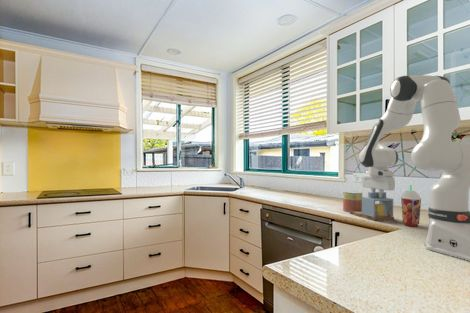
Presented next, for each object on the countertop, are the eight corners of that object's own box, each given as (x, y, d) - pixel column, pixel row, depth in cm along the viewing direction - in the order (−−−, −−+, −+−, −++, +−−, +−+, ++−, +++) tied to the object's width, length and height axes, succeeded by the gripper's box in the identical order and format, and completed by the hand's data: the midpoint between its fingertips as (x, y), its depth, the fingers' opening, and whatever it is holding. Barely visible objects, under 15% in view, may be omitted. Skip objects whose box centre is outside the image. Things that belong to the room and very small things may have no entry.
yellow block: (383, 216, 146) (383, 205, 146) (377, 216, 145) (377, 205, 145) (378, 214, 150) (378, 204, 150) (372, 215, 149) (372, 204, 149)
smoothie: (424, 228, 127) (424, 186, 127) (405, 227, 128) (405, 185, 129) (416, 223, 135) (416, 184, 135) (398, 223, 137) (398, 184, 137)
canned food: (348, 208, 177) (348, 190, 177) (365, 211, 168) (365, 192, 168) (339, 210, 170) (339, 191, 170) (356, 213, 161) (356, 193, 161)
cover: (393, 216, 145) (393, 193, 145) (373, 217, 142) (373, 193, 142) (380, 212, 154) (380, 191, 154) (361, 213, 150) (361, 191, 151)
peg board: (394, 219, 144) (394, 211, 144) (374, 220, 141) (374, 212, 141) (368, 212, 163) (368, 205, 163) (350, 213, 160) (350, 206, 160)
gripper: (359, 171, 157) (359, 194, 157) (387, 172, 137) (387, 199, 137) (368, 171, 159) (368, 194, 159) (397, 172, 139) (397, 199, 139)
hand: (377, 197), depth 148 cm, fingers closed on cover, 2 cm apart
